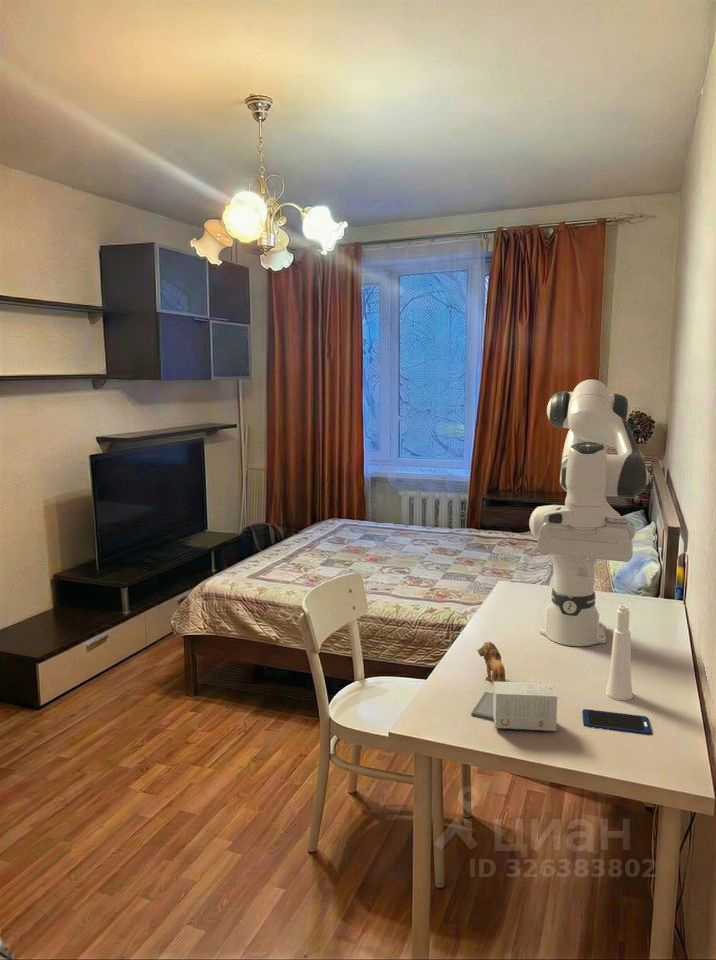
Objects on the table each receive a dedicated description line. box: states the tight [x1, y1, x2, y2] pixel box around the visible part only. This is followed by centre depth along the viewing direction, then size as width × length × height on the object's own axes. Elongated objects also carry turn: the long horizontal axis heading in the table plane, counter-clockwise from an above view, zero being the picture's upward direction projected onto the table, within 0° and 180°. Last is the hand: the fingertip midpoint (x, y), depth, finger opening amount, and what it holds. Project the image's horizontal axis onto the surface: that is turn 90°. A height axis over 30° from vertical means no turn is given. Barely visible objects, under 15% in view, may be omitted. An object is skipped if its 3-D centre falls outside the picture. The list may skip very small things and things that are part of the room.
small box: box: [492, 681, 558, 732], centre depth 143 cm, size 8×6×13 cm
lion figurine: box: [476, 641, 506, 688], centre depth 162 cm, size 15×5×9 cm, turn 9°
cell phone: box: [582, 708, 653, 735], centre depth 144 cm, size 7×14×1 cm, turn 73°
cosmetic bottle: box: [605, 605, 634, 701], centre depth 155 cm, size 6×6×22 cm
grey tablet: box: [470, 691, 542, 732], centre depth 149 cm, size 11×16×1 cm
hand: (583, 575), depth 147 cm, fingers closed
